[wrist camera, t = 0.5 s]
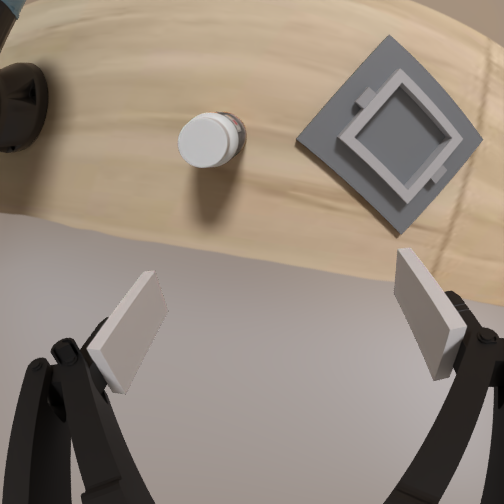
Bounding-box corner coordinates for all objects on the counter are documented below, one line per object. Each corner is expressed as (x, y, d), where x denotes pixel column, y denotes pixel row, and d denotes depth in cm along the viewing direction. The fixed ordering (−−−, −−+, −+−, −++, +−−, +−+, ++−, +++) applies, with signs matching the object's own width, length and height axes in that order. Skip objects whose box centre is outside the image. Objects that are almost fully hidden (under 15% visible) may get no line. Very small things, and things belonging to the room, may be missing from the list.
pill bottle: (223, 102, 33) (201, 98, 24) (257, 135, 35) (247, 142, 26) (191, 136, 35) (160, 144, 26) (224, 167, 37) (203, 185, 28)
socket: (296, 138, 34) (297, 140, 32) (387, 36, 27) (394, 31, 25) (398, 231, 38) (405, 240, 35) (479, 138, 30) (490, 141, 28)
